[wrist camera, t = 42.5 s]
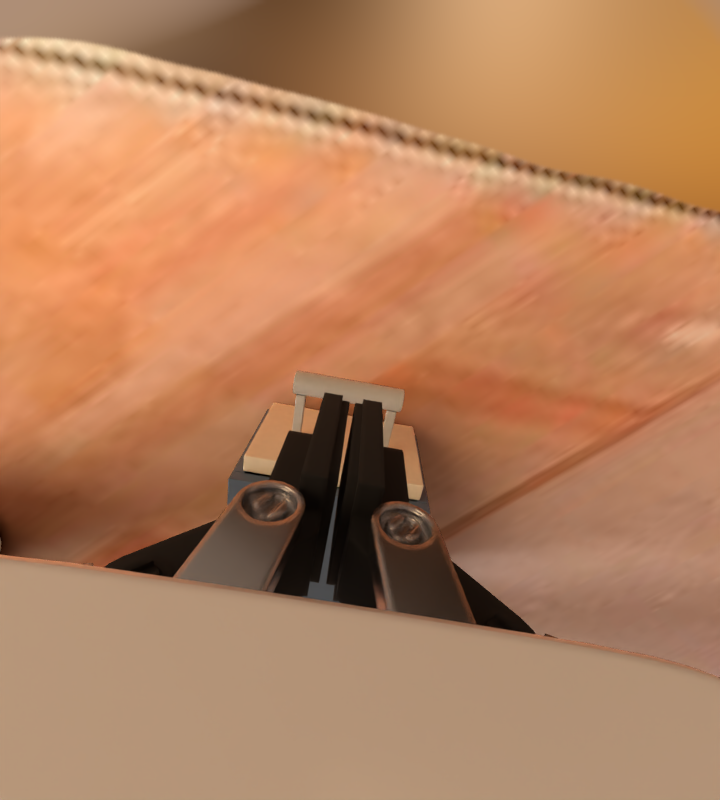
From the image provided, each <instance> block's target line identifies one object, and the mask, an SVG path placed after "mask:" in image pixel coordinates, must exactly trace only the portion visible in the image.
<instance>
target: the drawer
mask: <svg viewBox="0 0 720 800" xmlns="http://www.w3.org/2000/svg"><path fill="white" fill-rule="evenodd" d="M325 392H326V393H332V394H338V395H343V399H342V400H343V401H349V402H350V403H351V404H355V403H360V404H362V403H363V399H366V400H371V401H377V402H382V409H384V410H387V411H386V416H385V420H384V422H383V443H384V447H389V448H394V449H400V450H403V453H404V462H405V470H406V479H407V488H408V496H409V499H414V500H420V497H421V494H422V490H423V487H424V485H423V480H422V474H421V468H420V463H419V457H418V452H417V446H416V440H415V435H414V429H413V427H411V426H406V425H400V424H394V421H395V417H396V412H400V411H401V409H402V406H403V401H404V390H403V389H399V388H393V387H387V386H382V385H376V384H371V383H365V382H360V381H354V380H349V379H343V378H337V377H332V376H326V375H321V374H315V373H310V372H304V371H299V370H298V371H296V374H295V378H294V383H293V393H294V394H296V400H295V406H292V405H287V404H281V403H275V402H274V403H273V404H272V406H271V408H270V410H269V412H268V413H267V415H266V417H265V419H264V421H263V422H262V424H261V426H260V428H259V430H258V431H257V433H256V435H255V437H254V439H253V441H252V442H251V444H250V446H249V448H248V450H247V451H246V453H245V455H244V463H243V471H247V472H253V473H259V474H260V475H259V476H265V477H270V476H271V473H272V471H273V468H274V466H275V463H276V461H277V458H278V456H279V453H280V451H281V449H282V446H283V444H284V441H285V439H286V436H287V434H288V432H289V431H290V430H291V431H296V432H302V433H308V434H313V431H314V427H315V424H316V421H317V417H318V414H319V410H315V409H309V408H305V402H306V396H311V397H317V398H322V399H323V397H324V393H325ZM352 417H353V416H349V415H348V417H347V424H346V431H345V438H344V445H343V452H342V459H341V466H340V473H339V480H338V485H337V487H339V485H340V480H341V474H342V469H343V464H344V459H345V454H346V448H347V443H348V438H349V433H350V428H351V423H352Z"/></svg>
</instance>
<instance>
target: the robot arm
mask: <svg viewBox="0 0 720 800" xmlns="http://www.w3.org/2000/svg"><path fill="white" fill-rule="evenodd" d="M342 399H343V395H338V394H332V393H326V392H325V393H324V397H323V400H322V403H321V407H320V410H319V414H318V417H317V421H316V424H315V427H314V431H313V434H308V433H302V432H296V431H291V430H290V431H289V432H288V434H287V436H286V439H285V441H284V444H283V446H282V449H281V451H280V453H279V456H278V458H277V461H276V463H275V466H274V468H273V471H272V473H271V476H270V478H269V480H263V481H258V482H254V483H251V484H249V485H247V486H245V487H243V488H242V489H241V490H240V491H239V492H238V493H237V494H236V496H235V497H234V498H233V499H232V501H231V502H230V503H229V505H228V506H227V507H226V509H225V510H224V511H223V512H222V514H221V515H220V516H219V518H218V519H217V520H215V521H212V522H210V523H207V524H205V525H202V526H200V527H197V528H195V529H192V530H189V531H187V532H184V533H182V534H179V535H177V536H174V537H172V538H169V539H166V540H164V541H161V542H159V543H156V544H154V545H151V546H149V547H146V548H144V549H141V550H138V551H136V552H133V553H131V554H128V555H126V556H123V557H121V558H119V559H117V560H115V561H113V562H111V563H109V564H108V565H107V566H105V567H97V566H93V563H83V564H76V563H69V562H61V561H53V560H44V559H35V558H26V557H17V556H8V555H0V800H720V677H717V676H715V675H712V674H709V673H706V672H704V671H701V670H698V669H696V668H693V667H690V666H687V665H683V664H680V663H676V662H672V661H669V660H665V659H662V658H658V657H654V656H649V655H644V654H639V653H634V652H629V651H624V650H619V649H614V648H609V647H604V646H599V645H594V644H589V643H583V642H577V641H571V640H565V639H559V638H556V637H553V636H551V635H548V634H545V635H544V636H542V635H536V634H535V632H534V631H533V630H532V629H531V628H530V627H529V626H528V625H527V624H526V623H525V622H524V621H523V620H522V619H521V618H520V617H519V616H518V615H516V614H515V613H514V612H513V611H512V610H510V609H509V608H508V607H507V606H506V605H504V604H503V603H502V602H501V601H500V600H498V599H497V598H496V597H495V596H493V595H492V594H491V593H490V592H489V591H487V590H486V589H485V588H484V587H483V586H481V585H480V584H479V583H478V582H477V581H475V580H474V579H473V578H472V577H470V576H469V575H468V574H467V573H466V572H464V571H463V570H462V569H461V568H460V567H458V566H457V565H456V564H455V563H454V562H452V561H451V558H450V555H449V553H448V550H447V548H446V545H445V543H444V540H443V538H442V535H441V533H440V530H439V528H438V525H437V524H436V522H435V520H434V519H433V518H432V517H431V516H430V515H429V514H428V513H427V512H426V511H424V510H423V509H421V508H419V507H418V506H415V505H413V504H410V503H409V496H408V488H407V479H406V470H405V462H404V453H403V450H400V449H394V448H389V447H384V443H383V414H382V402H377V401H371V400H366V399H363V403H362V404H360V403H355V407H354V412H353V417H352V423H351V428H350V433H349V438H348V443H347V448H346V454H345V459H344V464H343V469H342V474H341V480H340V485H339V492H338V499H337V507H336V514H335V521H334V529H333V536H332V544H331V551H330V558H329V566H328V573H327V581H326V584H328V585H334V594H333V601H339V602H340V603H336V602H330V601H323V600H317V599H310V598H304V597H303V596H307V595H308V589H309V584H310V582H316V583H319V580H320V575H321V570H322V564H323V559H324V554H325V549H326V543H327V538H328V533H329V528H330V523H331V517H332V512H333V507H334V502H335V496H336V491H337V485H338V480H339V473H340V466H341V459H342V452H343V445H344V438H345V431H346V424H347V417H348V410H349V403H350V402H349V401H343V400H342ZM0 550H1V539H0Z"/></svg>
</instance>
